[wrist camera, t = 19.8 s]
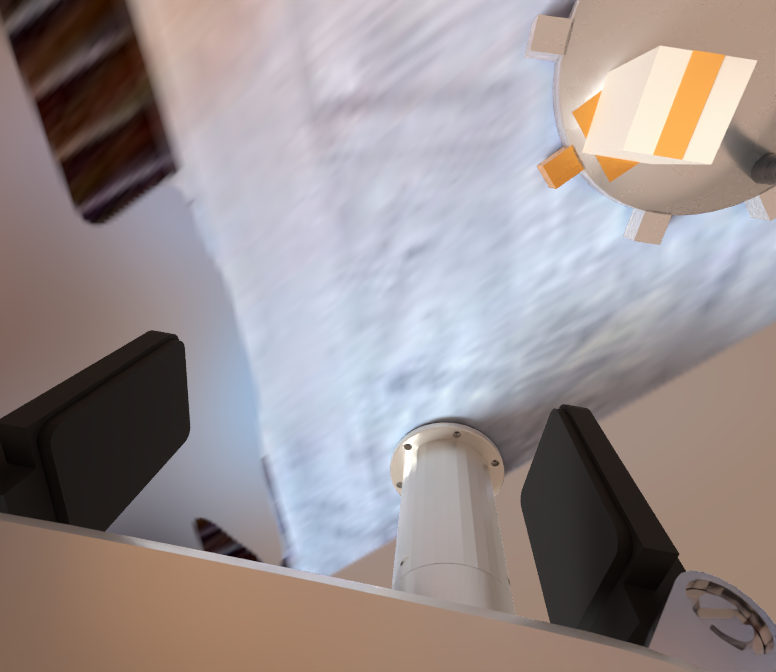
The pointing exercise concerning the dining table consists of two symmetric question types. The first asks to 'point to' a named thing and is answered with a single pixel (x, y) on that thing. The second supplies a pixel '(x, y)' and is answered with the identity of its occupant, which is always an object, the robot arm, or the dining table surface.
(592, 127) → the link block
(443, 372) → the dining table surface
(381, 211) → the dining table surface
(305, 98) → the dining table surface
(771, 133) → the sprocket
